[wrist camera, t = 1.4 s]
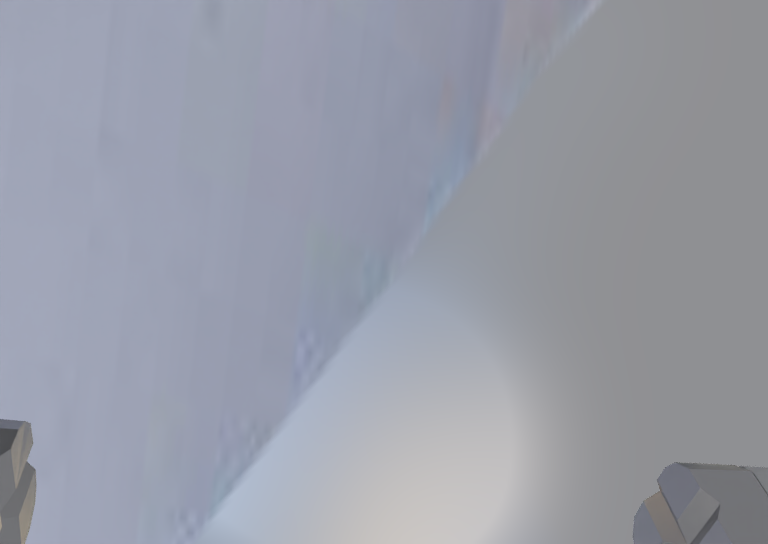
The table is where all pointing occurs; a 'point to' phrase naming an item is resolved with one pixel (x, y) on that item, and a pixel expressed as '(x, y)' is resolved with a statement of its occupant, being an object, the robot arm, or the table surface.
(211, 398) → the table surface
